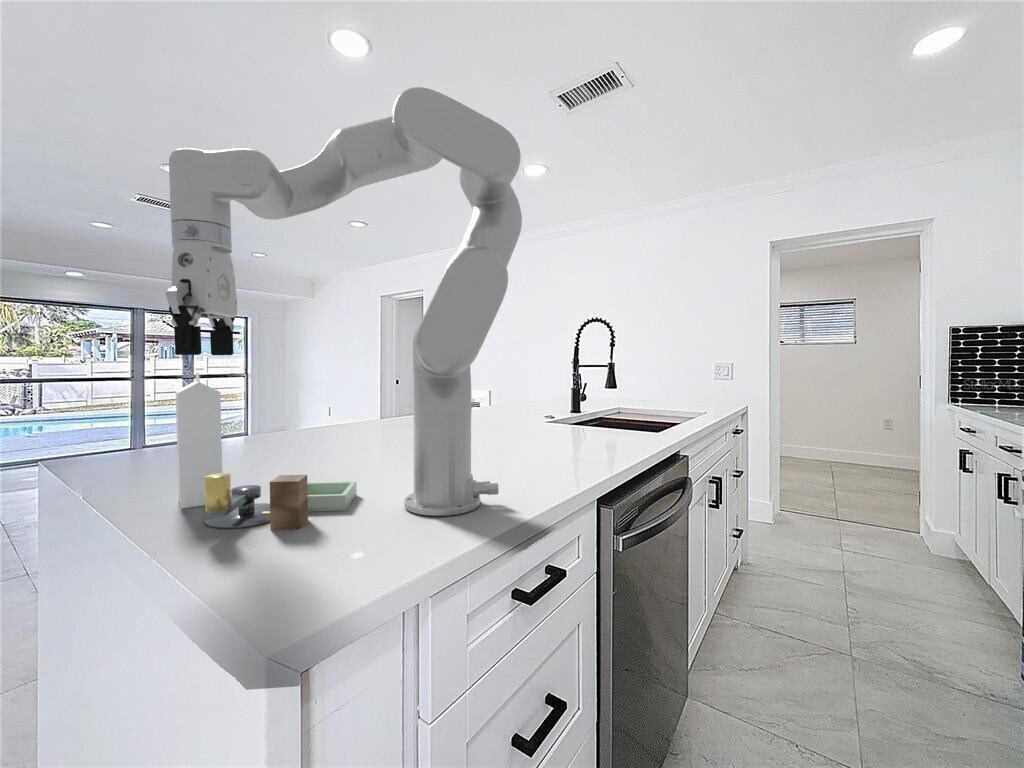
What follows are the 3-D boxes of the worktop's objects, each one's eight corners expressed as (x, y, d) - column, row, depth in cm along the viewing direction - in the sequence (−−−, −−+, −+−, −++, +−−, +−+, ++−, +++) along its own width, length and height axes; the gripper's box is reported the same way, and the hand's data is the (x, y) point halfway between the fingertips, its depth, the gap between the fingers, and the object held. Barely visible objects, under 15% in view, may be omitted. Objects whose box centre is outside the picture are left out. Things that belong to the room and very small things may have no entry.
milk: (180, 509, 79) (175, 373, 78) (178, 500, 84) (173, 372, 82) (224, 502, 83) (220, 372, 81) (219, 494, 87) (215, 371, 86)
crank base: (295, 504, 82) (295, 488, 81) (270, 527, 71) (270, 509, 71) (225, 506, 80) (225, 490, 80) (189, 530, 69) (189, 511, 69)
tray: (356, 495, 88) (356, 481, 87) (345, 510, 79) (345, 495, 79) (304, 496, 87) (304, 482, 86) (287, 512, 78) (286, 496, 77)
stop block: (307, 520, 74) (307, 474, 74) (299, 529, 70) (298, 481, 70) (280, 520, 74) (279, 475, 73) (270, 530, 70) (269, 481, 69)
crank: (238, 494, 77) (237, 459, 77) (264, 493, 78) (264, 459, 77) (197, 520, 65) (196, 479, 64) (229, 519, 65) (228, 478, 65)
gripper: (198, 224, 64) (202, 354, 65) (253, 252, 81) (256, 355, 82) (136, 223, 63) (142, 354, 64) (205, 251, 81) (209, 355, 81)
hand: (206, 355), depth 73 cm, fingers open, 9 cm apart
